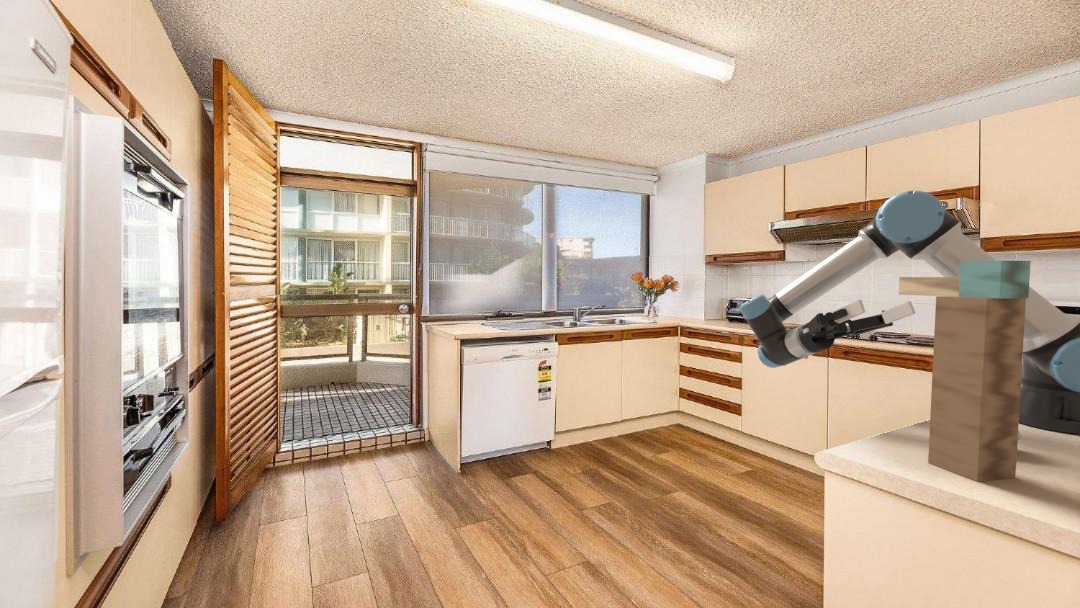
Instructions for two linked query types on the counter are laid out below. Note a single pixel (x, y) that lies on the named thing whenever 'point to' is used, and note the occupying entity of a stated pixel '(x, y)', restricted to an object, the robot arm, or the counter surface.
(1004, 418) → the stand
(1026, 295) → the mallet
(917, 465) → the counter surface
